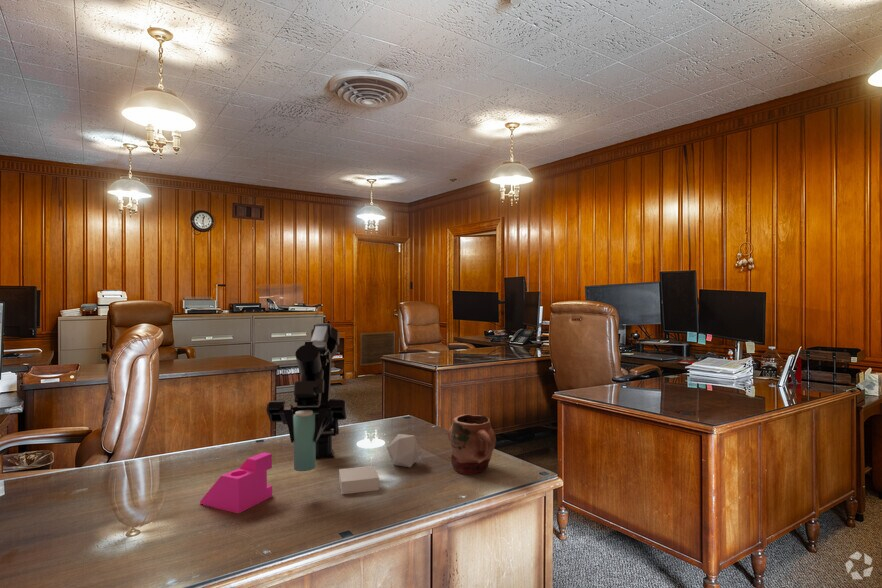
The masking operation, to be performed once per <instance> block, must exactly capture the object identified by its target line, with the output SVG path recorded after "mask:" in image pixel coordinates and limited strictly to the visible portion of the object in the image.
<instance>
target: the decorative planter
mask: <svg viewBox="0 0 882 588" xmlns="http://www.w3.org/2000/svg"><path fill="white" fill-rule="evenodd" d="M447 438H448V440H449V442H450V445H451V457H450V459H451V460H450V461H451V465H452V468H453V470H455V472H457V473H460V474H464V475H470V474H478V473H481V472H484V471H486V470H487V469H488V468H489V464H490V461H491V458H492V456H493V451H494V449H495V448H496V444H497V438H496V432H495V431H494V429H493V428H492V424H491V420H490V418H489V417H488V416H487V415H476V414H475V415H474V414H466V413H465V414H461V415H457V416H456V417H454V418H453V420H452V424H451V426H450V428H449V430H448V431H447Z"/></svg>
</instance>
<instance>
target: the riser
mask: <svg viewBox="0 0 882 588" xmlns="http://www.w3.org/2000/svg"><path fill="white" fill-rule="evenodd" d="M338 474H339V475H338V477H339V478H338V482H339V486H340V488H339V489H340V493H341V495H348V494H354V493H364V492H373V491H380V477H379V475H378V472H377V470H376V468H375V465H369V466H360V467H359V466H358V467H349V468H338Z"/></svg>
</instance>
